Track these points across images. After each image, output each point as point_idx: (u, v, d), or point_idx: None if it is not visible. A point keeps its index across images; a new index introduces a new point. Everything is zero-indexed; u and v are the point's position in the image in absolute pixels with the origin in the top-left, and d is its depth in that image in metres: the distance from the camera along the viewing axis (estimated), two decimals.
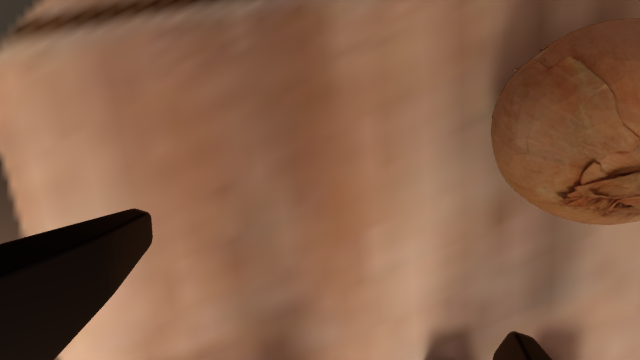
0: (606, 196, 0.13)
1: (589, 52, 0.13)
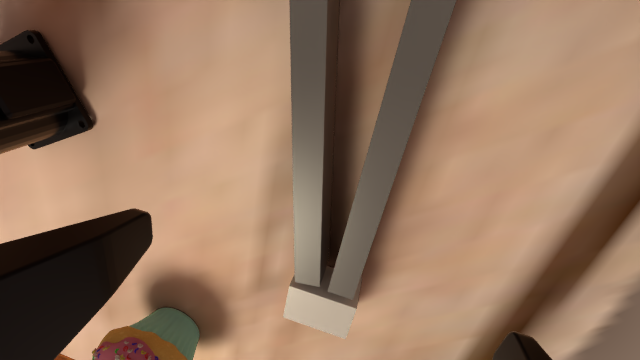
0: None
1: None
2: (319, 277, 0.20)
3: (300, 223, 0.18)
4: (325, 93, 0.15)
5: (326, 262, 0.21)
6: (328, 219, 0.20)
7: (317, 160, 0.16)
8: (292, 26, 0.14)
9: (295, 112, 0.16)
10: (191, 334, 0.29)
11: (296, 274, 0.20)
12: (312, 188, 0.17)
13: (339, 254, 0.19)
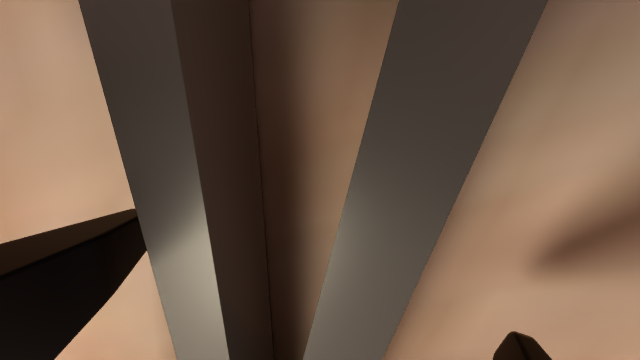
0: None
1: None
2: None
3: None
4: (205, 195, 0.06)
5: None
6: None
7: (211, 319, 0.08)
8: (92, 36, 0.05)
9: (148, 230, 0.07)
10: None
11: None
12: None
13: None
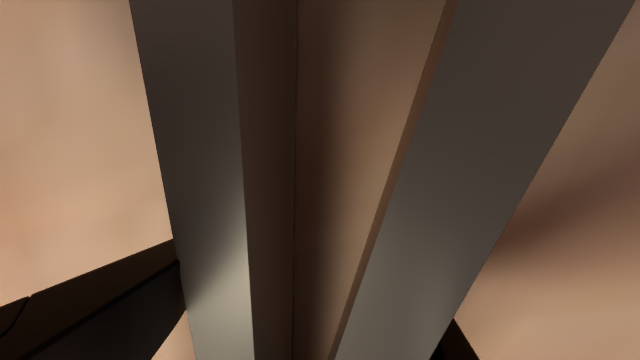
0: None
1: None
2: None
3: None
4: (249, 219, 0.06)
5: None
6: None
7: (240, 344, 0.07)
8: (143, 50, 0.05)
9: (183, 250, 0.07)
10: None
11: None
12: None
13: None
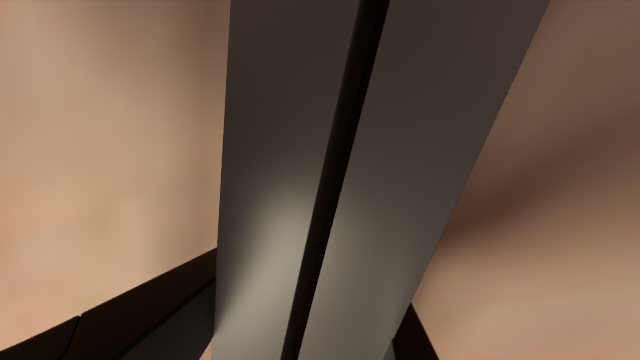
0: None
1: None
2: None
3: None
4: (308, 235, 0.06)
5: None
6: None
7: (266, 353, 0.07)
8: (234, 47, 0.04)
9: (226, 257, 0.06)
10: None
11: None
12: None
13: None
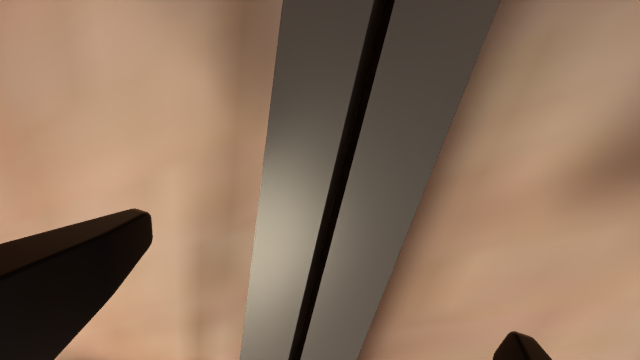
0: None
1: None
2: None
3: (251, 357, 0.11)
4: (332, 177, 0.07)
5: None
6: (299, 336, 0.13)
7: (294, 282, 0.09)
8: (283, 32, 0.06)
9: (266, 198, 0.08)
10: None
11: None
12: (279, 319, 0.10)
13: None
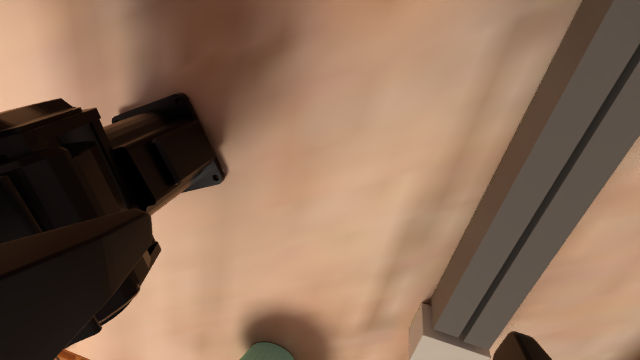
0: None
1: None
2: (461, 329, 0.21)
3: (467, 281, 0.19)
4: (554, 178, 0.15)
5: None
6: None
7: (515, 233, 0.17)
8: (552, 116, 0.14)
9: (514, 189, 0.16)
10: None
11: (438, 323, 0.21)
12: (496, 255, 0.18)
13: (484, 309, 0.20)
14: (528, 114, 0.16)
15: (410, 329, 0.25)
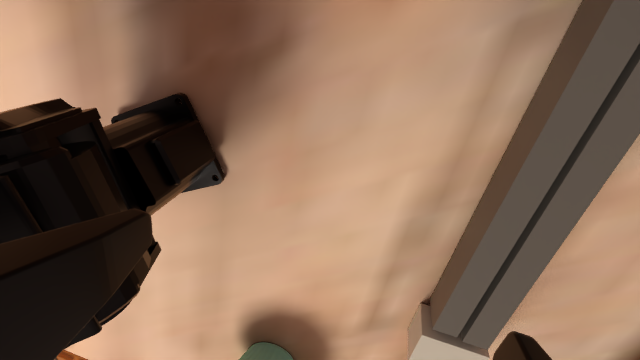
0: None
1: None
2: (460, 329, 0.21)
3: (466, 282, 0.19)
4: (553, 179, 0.16)
5: None
6: None
7: (514, 233, 0.17)
8: (551, 117, 0.14)
9: (513, 190, 0.16)
10: None
11: (437, 323, 0.21)
12: (495, 256, 0.18)
13: (483, 310, 0.20)
14: (527, 115, 0.17)
15: (409, 329, 0.25)
